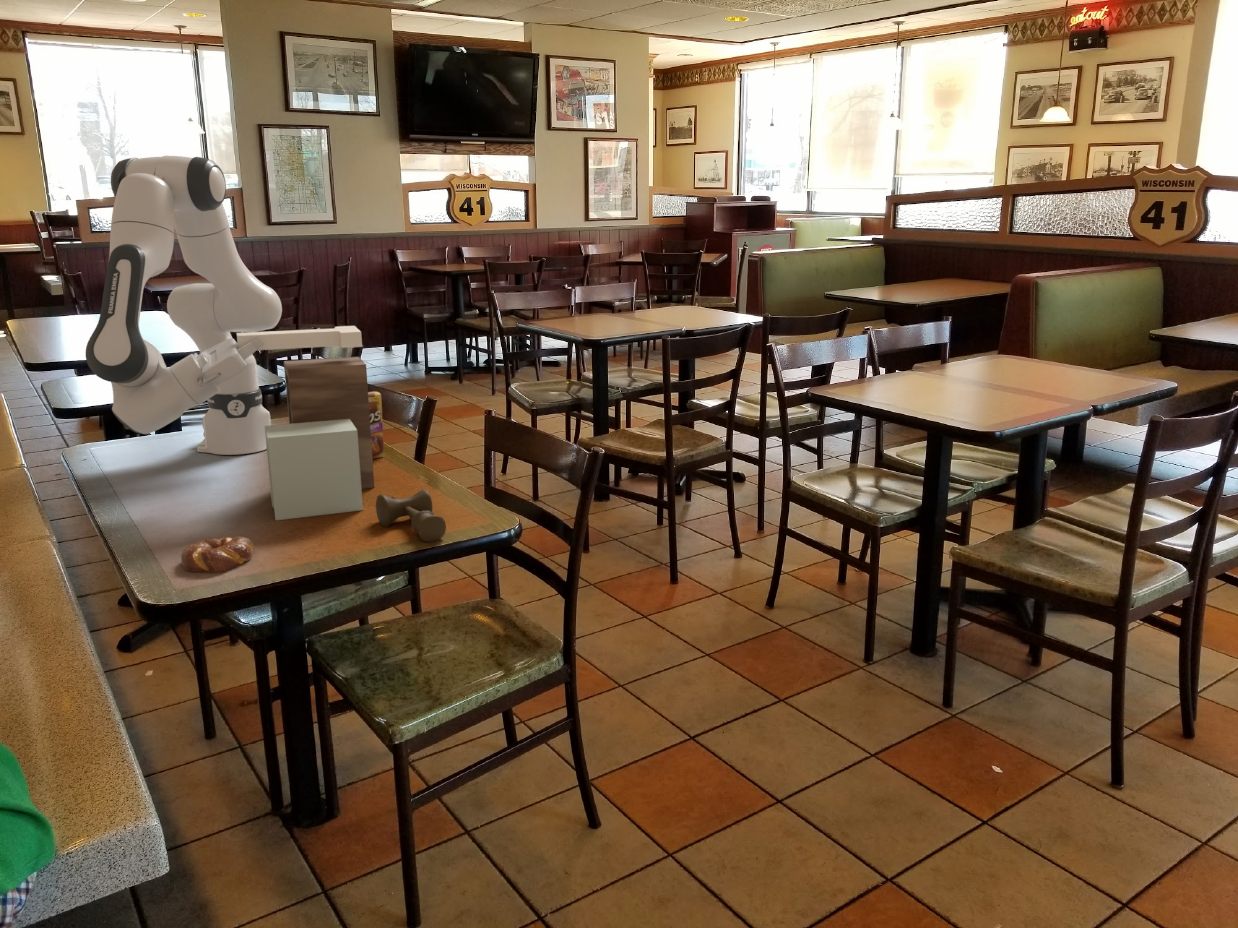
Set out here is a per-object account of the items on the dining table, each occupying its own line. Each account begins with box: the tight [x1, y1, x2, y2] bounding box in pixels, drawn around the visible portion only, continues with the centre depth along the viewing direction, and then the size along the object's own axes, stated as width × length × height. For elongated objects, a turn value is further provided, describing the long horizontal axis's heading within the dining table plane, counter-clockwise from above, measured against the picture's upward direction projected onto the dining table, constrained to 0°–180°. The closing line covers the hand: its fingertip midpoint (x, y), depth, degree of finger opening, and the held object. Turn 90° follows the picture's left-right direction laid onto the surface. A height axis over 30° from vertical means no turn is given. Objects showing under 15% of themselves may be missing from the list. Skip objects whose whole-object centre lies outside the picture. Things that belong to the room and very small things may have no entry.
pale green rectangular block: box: [264, 419, 364, 521], centre depth 182 cm, size 10×16×16 cm, turn 113°
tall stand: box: [283, 356, 375, 490], centre depth 195 cm, size 10×15×26 cm, turn 113°
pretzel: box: [180, 536, 255, 573], centre depth 157 cm, size 12×11×4 cm
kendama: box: [375, 489, 447, 543], centre depth 174 cm, size 6×10×20 cm
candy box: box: [368, 390, 385, 459], centre depth 217 cm, size 9×4×15 cm, turn 123°
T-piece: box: [236, 325, 363, 351], centre depth 188 cm, size 9×23×3 cm, turn 113°
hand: (260, 338), depth 186 cm, fingers closed on T-piece, 4 cm apart
